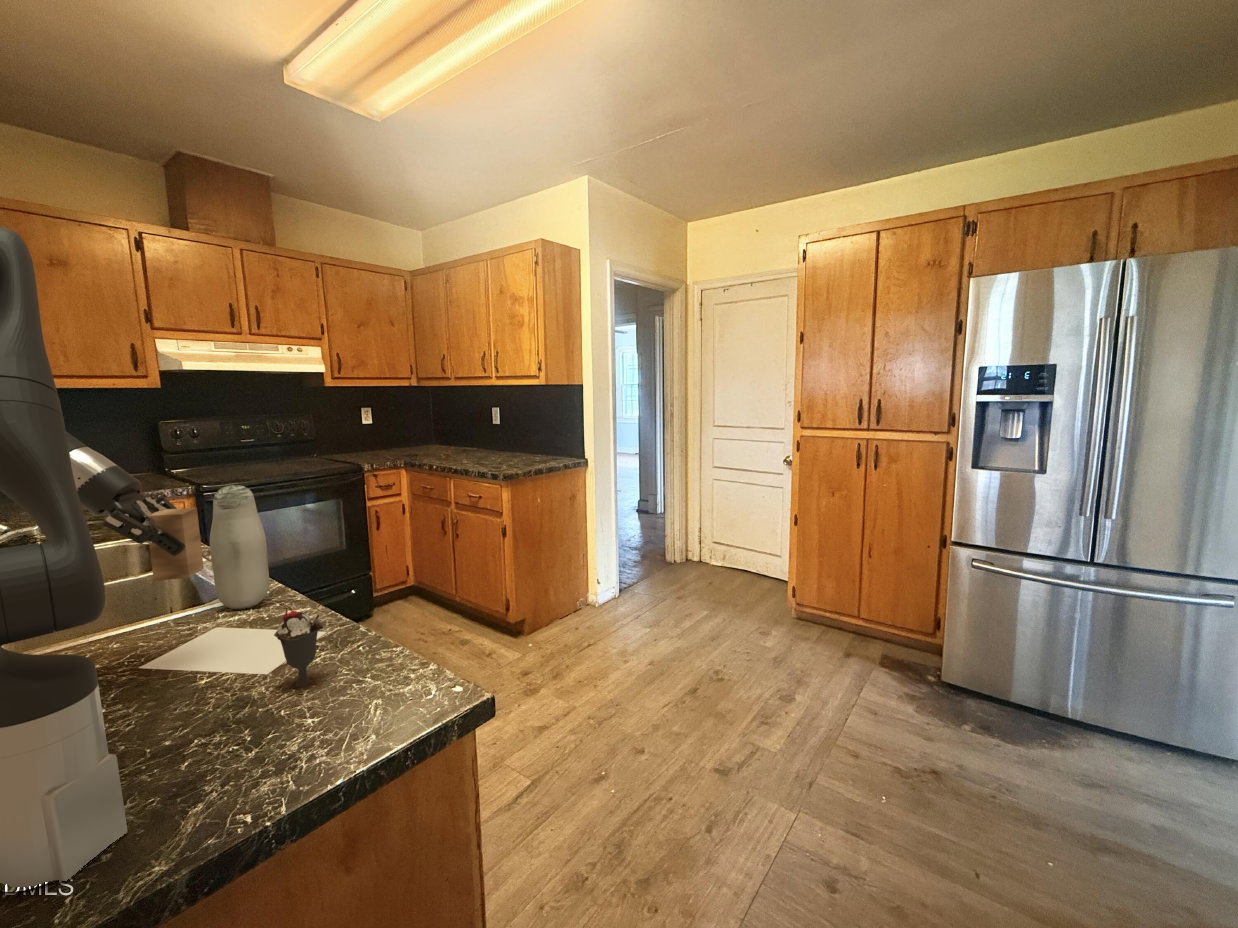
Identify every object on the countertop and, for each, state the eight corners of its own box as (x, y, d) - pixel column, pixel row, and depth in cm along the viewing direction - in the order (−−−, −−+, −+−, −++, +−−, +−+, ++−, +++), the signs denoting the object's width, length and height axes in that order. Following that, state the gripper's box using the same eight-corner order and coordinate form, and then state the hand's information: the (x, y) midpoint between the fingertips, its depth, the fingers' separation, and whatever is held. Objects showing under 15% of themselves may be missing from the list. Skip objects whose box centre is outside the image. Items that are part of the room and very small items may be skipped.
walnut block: (153, 580, 87) (145, 515, 86) (170, 570, 92) (162, 509, 91) (189, 577, 89) (181, 513, 87) (203, 568, 94) (196, 507, 92)
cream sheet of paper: (327, 635, 105) (327, 631, 105) (267, 678, 89) (266, 674, 89) (216, 630, 107) (216, 627, 107) (139, 672, 92) (138, 667, 92)
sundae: (270, 692, 85) (261, 604, 83) (311, 672, 91) (303, 590, 89) (295, 703, 82) (286, 611, 80) (335, 682, 88) (328, 596, 86)
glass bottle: (215, 606, 120) (201, 485, 116) (268, 594, 127) (256, 480, 123) (219, 620, 113) (205, 491, 109) (276, 606, 119) (264, 485, 116)
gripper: (80, 470, 79) (184, 541, 84) (138, 459, 93) (224, 521, 98) (41, 507, 78) (148, 577, 83) (105, 490, 92) (194, 551, 97)
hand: (189, 546), depth 90 cm, fingers closed on walnut block, 5 cm apart
